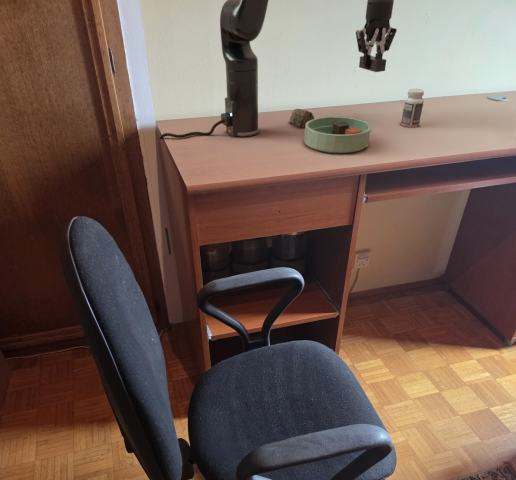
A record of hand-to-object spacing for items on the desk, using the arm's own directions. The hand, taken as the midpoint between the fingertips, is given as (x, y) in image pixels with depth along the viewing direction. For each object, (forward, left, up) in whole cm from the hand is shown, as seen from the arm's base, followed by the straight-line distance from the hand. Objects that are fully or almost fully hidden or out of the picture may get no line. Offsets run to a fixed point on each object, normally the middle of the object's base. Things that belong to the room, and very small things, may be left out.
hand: (371, 67), depth 142 cm
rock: (-22, +3, -15) cm, 27 cm away
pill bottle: (+9, -13, -15) cm, 22 cm away
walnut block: (-20, -15, -14) cm, 29 cm away
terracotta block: (-20, -22, -14) cm, 33 cm away
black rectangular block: (0, 0, 0) cm, 0 cm away
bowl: (-23, -19, -15) cm, 33 cm away
